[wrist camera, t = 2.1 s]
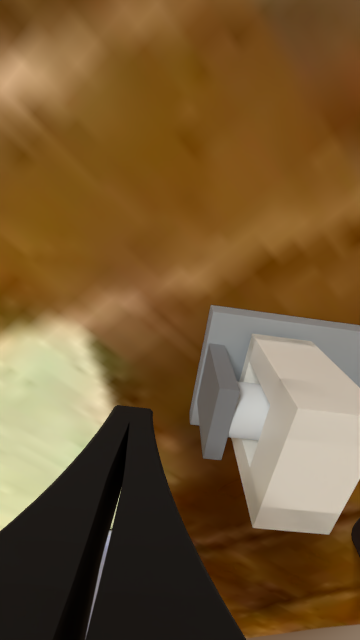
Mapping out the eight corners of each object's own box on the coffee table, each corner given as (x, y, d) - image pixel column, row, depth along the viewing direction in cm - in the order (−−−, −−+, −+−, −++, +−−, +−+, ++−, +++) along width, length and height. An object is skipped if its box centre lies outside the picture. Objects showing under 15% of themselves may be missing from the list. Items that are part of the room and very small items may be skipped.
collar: (279, 429, 15) (328, 534, 10) (227, 423, 15) (252, 527, 10) (311, 341, 13) (392, 419, 8) (252, 333, 13) (298, 408, 8)
